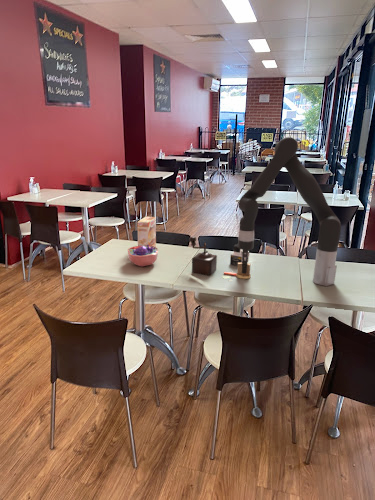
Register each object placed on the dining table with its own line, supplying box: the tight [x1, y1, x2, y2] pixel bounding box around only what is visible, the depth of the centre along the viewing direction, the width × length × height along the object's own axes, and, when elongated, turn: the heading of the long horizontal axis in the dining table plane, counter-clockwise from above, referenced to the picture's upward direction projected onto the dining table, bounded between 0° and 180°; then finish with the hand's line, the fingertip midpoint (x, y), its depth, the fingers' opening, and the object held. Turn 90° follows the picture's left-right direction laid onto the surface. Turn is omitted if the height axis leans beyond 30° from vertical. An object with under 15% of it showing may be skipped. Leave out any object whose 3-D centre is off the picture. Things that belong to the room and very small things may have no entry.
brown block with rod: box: [223, 262, 252, 280], centre depth 188 cm, size 14×7×7 cm, turn 71°
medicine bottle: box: [229, 243, 243, 267], centre depth 205 cm, size 7×7×12 cm
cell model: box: [127, 245, 159, 267], centre depth 205 cm, size 17×20×11 cm
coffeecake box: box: [137, 216, 157, 248], centre depth 228 cm, size 15×7×20 cm, turn 167°
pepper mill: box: [188, 236, 218, 277], centre depth 193 cm, size 16×11×18 cm
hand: (244, 271), depth 187 cm, fingers closed on brown block with rod, 2 cm apart
